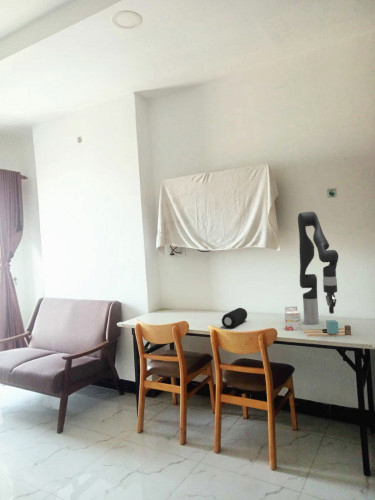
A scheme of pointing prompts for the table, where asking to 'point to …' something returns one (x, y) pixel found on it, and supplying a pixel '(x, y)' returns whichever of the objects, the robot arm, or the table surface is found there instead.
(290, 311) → the ink cartridge box
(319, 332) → the oak board
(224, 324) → the portable speaker
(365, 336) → the table surface
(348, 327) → the walnut post
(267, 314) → the table surface
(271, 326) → the table surface
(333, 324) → the aqua square block
